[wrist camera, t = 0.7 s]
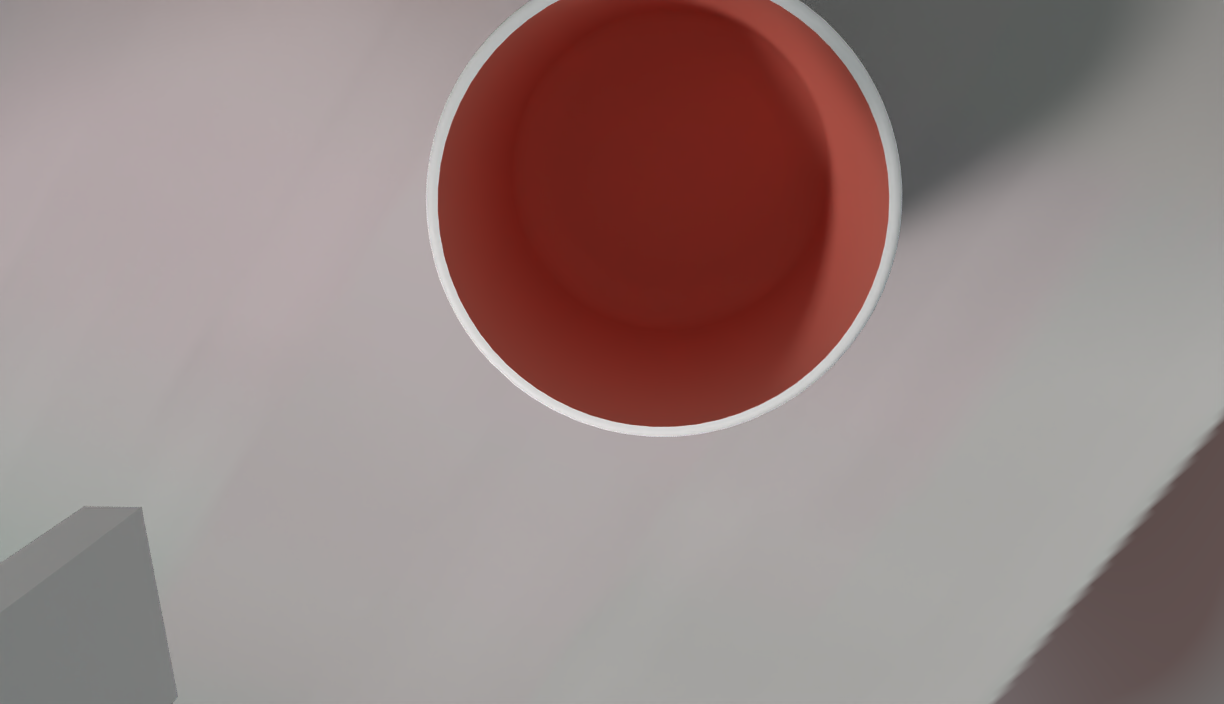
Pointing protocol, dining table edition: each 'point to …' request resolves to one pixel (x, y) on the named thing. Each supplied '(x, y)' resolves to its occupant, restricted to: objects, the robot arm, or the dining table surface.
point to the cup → (664, 207)
